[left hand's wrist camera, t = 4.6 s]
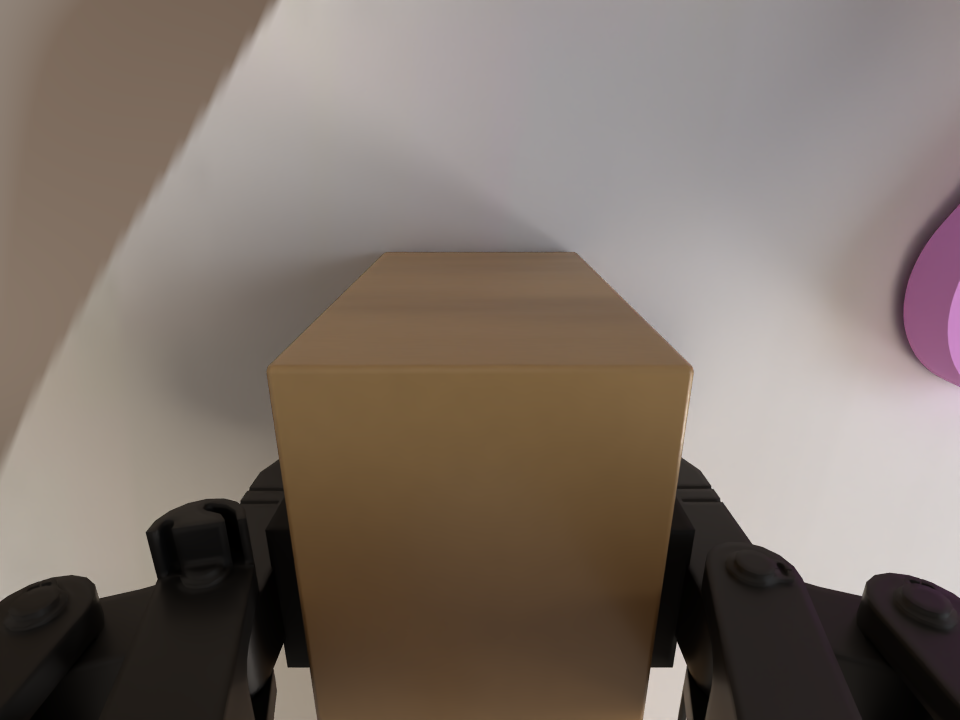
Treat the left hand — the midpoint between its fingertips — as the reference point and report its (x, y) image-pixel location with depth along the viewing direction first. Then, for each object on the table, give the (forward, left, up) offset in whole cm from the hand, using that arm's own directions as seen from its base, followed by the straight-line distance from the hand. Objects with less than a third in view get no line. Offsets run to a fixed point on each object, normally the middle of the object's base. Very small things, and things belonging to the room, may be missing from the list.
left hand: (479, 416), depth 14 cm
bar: (+8, +2, -1) cm, 8 cm away
